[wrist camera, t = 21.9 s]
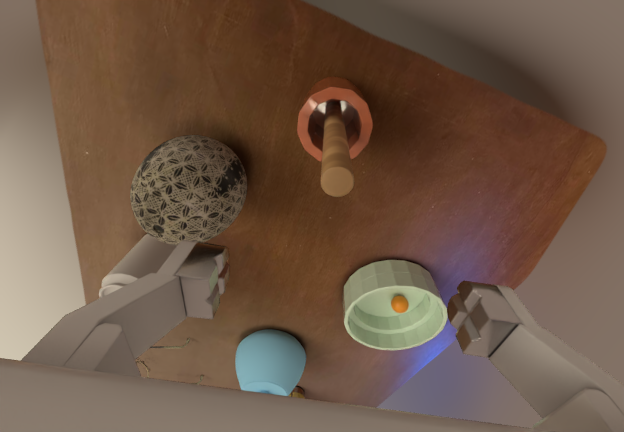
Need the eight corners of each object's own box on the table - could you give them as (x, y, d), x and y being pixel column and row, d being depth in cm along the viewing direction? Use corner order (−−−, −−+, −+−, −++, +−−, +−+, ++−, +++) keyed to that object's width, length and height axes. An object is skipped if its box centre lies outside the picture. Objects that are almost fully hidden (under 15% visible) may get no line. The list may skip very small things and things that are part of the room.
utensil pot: (374, 103, 33) (387, 122, 25) (336, 147, 36) (338, 176, 29) (329, 62, 31) (329, 69, 23) (293, 113, 34) (283, 134, 27)
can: (195, 245, 47) (158, 302, 37) (177, 269, 50) (138, 327, 40) (154, 220, 44) (102, 274, 34) (137, 247, 48) (85, 303, 38)
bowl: (453, 287, 49) (469, 318, 43) (386, 329, 56) (392, 360, 51) (388, 240, 44) (397, 269, 38) (324, 293, 51) (324, 323, 46)
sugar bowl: (320, 350, 61) (318, 408, 51) (274, 371, 67) (265, 427, 57) (272, 315, 56) (259, 374, 46) (226, 342, 62) (206, 399, 52)
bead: (414, 309, 48) (406, 315, 46) (399, 310, 50) (391, 316, 48) (408, 292, 49) (400, 297, 46) (393, 294, 51) (385, 299, 49)
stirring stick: (345, 109, 33) (361, 180, 16) (334, 122, 34) (339, 202, 17) (332, 97, 32) (335, 159, 16) (321, 111, 33) (313, 184, 16)
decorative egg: (272, 184, 40) (246, 251, 27) (208, 212, 43) (158, 284, 30) (225, 106, 34) (163, 145, 22) (156, 146, 37) (67, 199, 25)
